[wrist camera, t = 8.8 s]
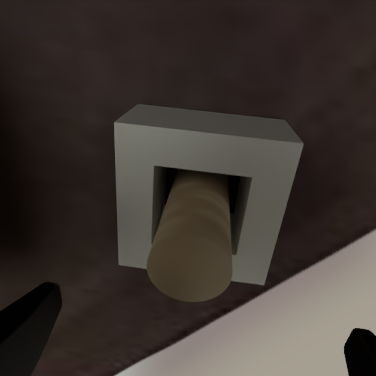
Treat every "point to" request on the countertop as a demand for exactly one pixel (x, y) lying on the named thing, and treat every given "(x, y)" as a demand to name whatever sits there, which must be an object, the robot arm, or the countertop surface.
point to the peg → (193, 238)
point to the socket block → (208, 162)
